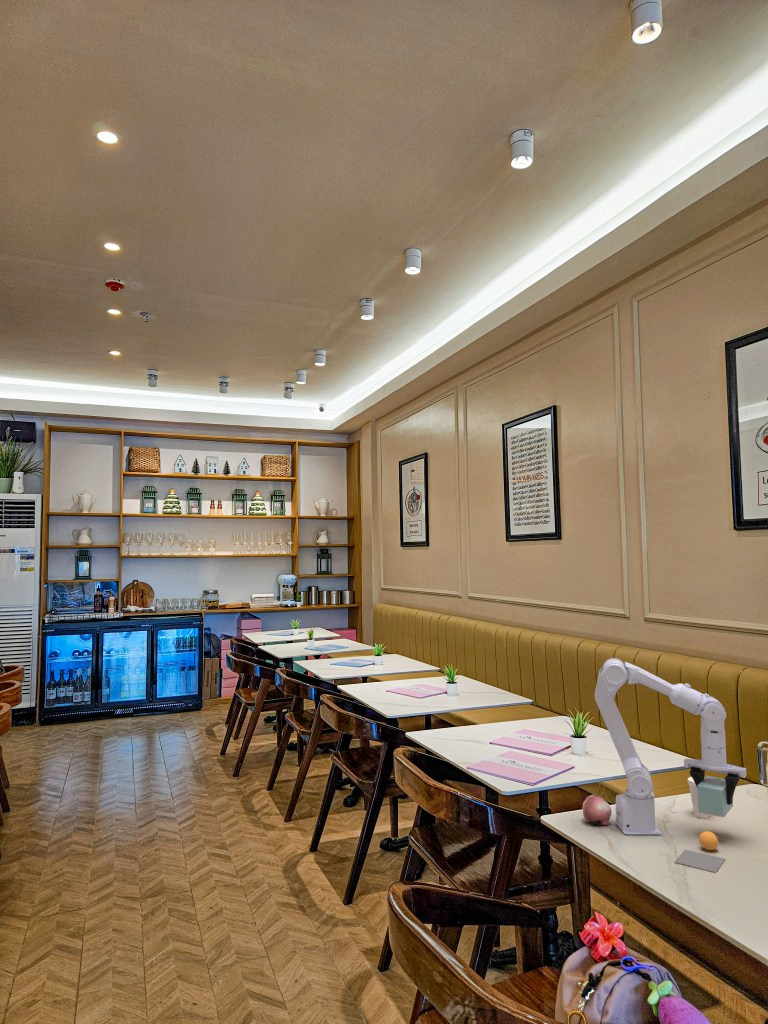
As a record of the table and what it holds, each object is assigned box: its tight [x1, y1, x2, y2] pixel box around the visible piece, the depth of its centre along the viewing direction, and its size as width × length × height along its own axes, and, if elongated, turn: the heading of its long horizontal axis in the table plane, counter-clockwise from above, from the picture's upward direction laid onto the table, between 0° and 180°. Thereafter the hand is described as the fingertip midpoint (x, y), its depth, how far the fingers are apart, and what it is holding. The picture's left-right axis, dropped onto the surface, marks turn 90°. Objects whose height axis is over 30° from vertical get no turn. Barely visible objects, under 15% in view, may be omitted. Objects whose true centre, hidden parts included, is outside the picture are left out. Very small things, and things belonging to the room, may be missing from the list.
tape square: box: [674, 849, 726, 873], centre depth 163 cm, size 9×9×1 cm
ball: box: [698, 831, 719, 851], centre depth 170 cm, size 4×4×4 cm
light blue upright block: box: [697, 775, 734, 818], centre depth 178 cm, size 9×6×7 cm
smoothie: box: [687, 776, 710, 819], centre depth 193 cm, size 6×6×14 cm
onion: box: [582, 794, 612, 826], centre depth 189 cm, size 8×8×7 cm
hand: (716, 800), depth 178 cm, fingers closed on light blue upright block, 6 cm apart
